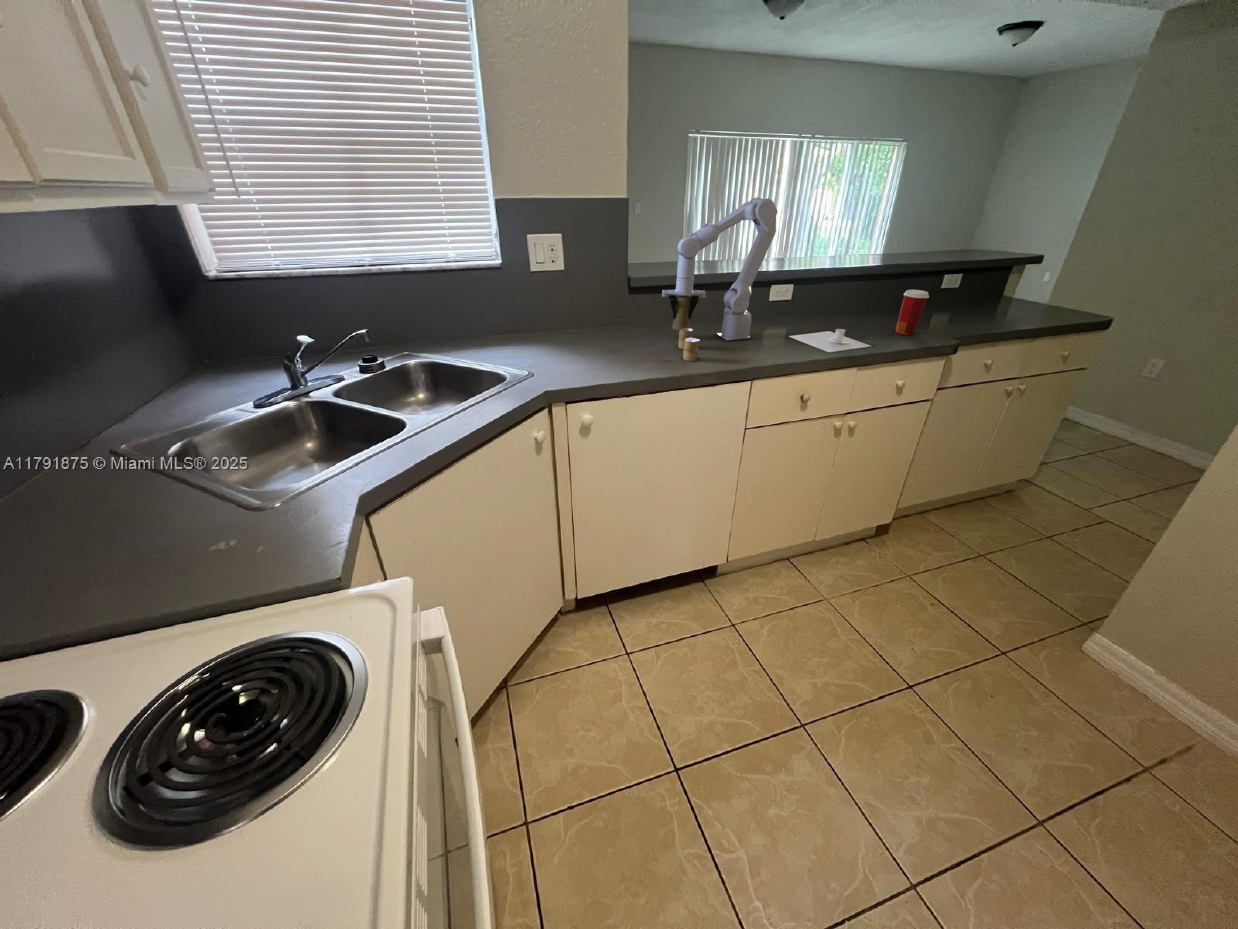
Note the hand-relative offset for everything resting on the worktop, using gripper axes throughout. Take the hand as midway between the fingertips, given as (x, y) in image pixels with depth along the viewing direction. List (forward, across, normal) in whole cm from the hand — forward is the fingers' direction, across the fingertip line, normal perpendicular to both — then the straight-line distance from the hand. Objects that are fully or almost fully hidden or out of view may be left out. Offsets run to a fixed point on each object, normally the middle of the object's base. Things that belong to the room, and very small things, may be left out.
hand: (681, 318), depth 169 cm
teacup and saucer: (+7, -53, +2) cm, 53 cm away
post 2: (+7, 0, +23) cm, 24 cm away
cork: (+4, 0, 0) cm, 4 cm away
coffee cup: (+7, -87, -10) cm, 88 cm away
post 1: (+7, 0, +12) cm, 13 cm away
